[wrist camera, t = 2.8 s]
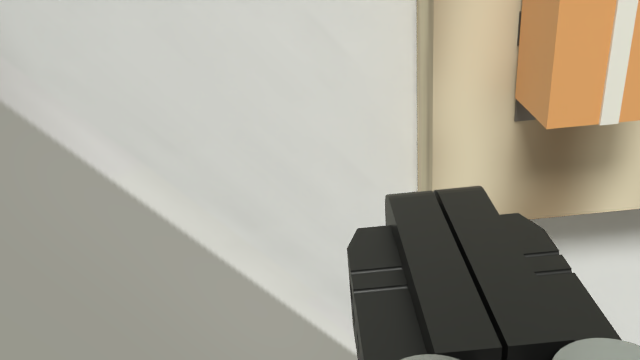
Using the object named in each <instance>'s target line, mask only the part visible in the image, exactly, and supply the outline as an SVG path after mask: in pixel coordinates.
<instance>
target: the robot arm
mask: <svg viewBox="0 0 640 360" xmlns="http://www.w3.org/2000/svg"><path fill="white" fill-rule="evenodd" d="M385 216H386V226H378V227H368V228H358V229H357V230H356V232H355V234H354V236H353V238H352V240H351V242H350V244H349V246H348V248H347V254H348V267H349V280H350V293H351V306H352V319H353V328H354V336H355V343H356V349H357V357H358V360H640V346H639V345H636V344H633V343H630V342H626V341H622V340H621V338H620V337H619V335H618V334H617V333H616V331H615V330H614V328H613V327H612V325H611V324H610V323H609V321H608V320H607V318H606V317H605V316H604V314H603V313H602V311H601V310H600V308H599V307H598V306H597V304H596V303H595V301H594V300H593V298H592V297H591V296H590V294H589V293H588V291H587V290H586V288H585V287H584V286H583V284H582V283H581V281H580V280H579V279H578V277H577V276H576V274H575V273H572V271H571V267H570V266H569V264H568V263H567V261H566V260H565V259H564V257H563V256H562V255H559V250H558V249H557V247H556V246H555V244H554V243H553V242H552V240H551V239H550V237H549V236H548V234H547V233H546V232H545V230H544V229H543V228H541V227H540V226H538V225H536V224H535V223H533V222H532V221H530V220H529V219H527V218H525V217H524V216H522V215H521V214H519V213H511V214H501V215H499V213H498V211H497V210H496V208H495V207H494V205H493V203H492V202H491V200H490V198H489V197H488V195H487V193H486V192H485V190H484V189H483V187H482V186H470V187H460V188H449V189H439V190H434V191H431V190H430V191H420V192H409V193H399V194H389V195H386V198H385Z"/></svg>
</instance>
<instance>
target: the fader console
mask: <svg viewBox="0 0 640 360" xmlns="http://www.w3.org/2000/svg"><path fill="white" fill-rule="evenodd" d="M521 12H522V0H417V145H418V192H420V191H430V190H431V191H434V190H439V189H449V188H460V187H470V186H482V187H483V189H484V190H485V192H486V193H487V195H488V197H489V198H490V200H491V202H492V203H493V205H494V207H495V208H496V210H497V211H498V213H499V215H501V214H511V213H519V214H521V215H522V216H524V217H525V218H527V219H539V218H550V217H560V216H570V215H581V214H591V213H601V212H612V211H622V210H633V209H640V120H638V121H628V122H619V123H618V124H610V125H599V124H596V125H586V126H575V127H565V128H554V129H546V128H545V127H544V126H543V125H542V124H541V123H540V122H539V121H538V120H537V119H536V118H535V117H534V116H533V115H532V114H531V113H530V112H529V111H528V110H527V109H526V108H525V107H524V106H523V105H522V104H521V103H520V102H519V101H518V100H517V99H516V98H515V92H516V79H517V66H518V52H519V39H520V25H521Z"/></svg>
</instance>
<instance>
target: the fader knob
mask: <svg viewBox="0 0 640 360" xmlns="http://www.w3.org/2000/svg"><path fill="white" fill-rule="evenodd" d="M515 98H516V99H517V100H518V101H519V102H520V103H521V104H522V105H523V106H524V107H525V108H526V109H527V110H528V111H529V112H530V113H531V114H532V115H533V116H534V117H535V118H536V119H537V120H538V121H539V122H540V123H541V124H542V125H543V126H544V127H545V128H546V129H554V128H565V127H575V126H586V125H596V124H599V125H610V124H618V123H619V122H628V121H638V120H640V0H522V12H521V25H520V39H519V52H518V66H517V79H516V92H515Z"/></svg>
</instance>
